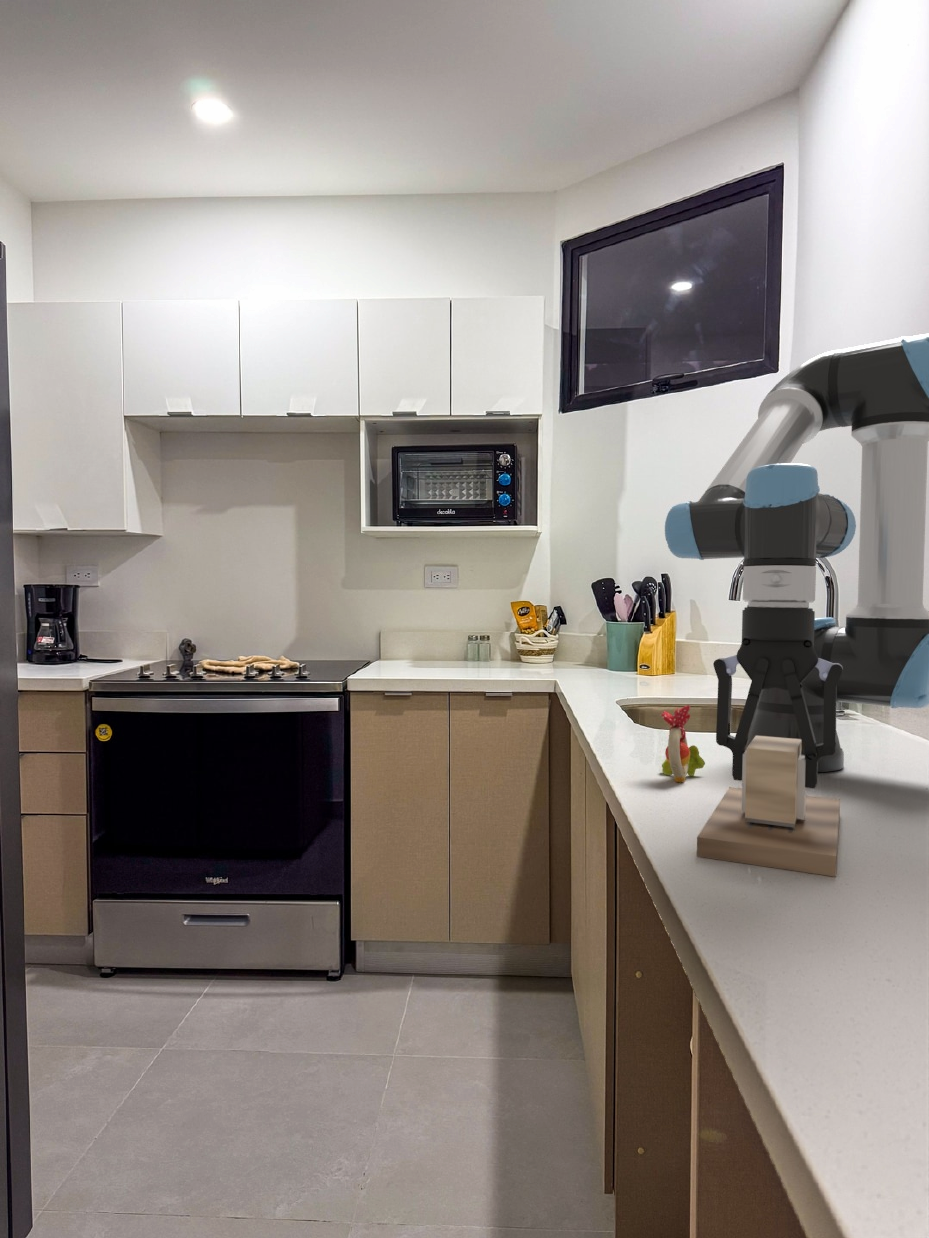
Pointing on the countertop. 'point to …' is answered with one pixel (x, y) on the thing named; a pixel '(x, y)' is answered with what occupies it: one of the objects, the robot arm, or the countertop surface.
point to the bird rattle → (680, 748)
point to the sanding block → (772, 780)
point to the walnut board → (774, 837)
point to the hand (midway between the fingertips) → (773, 812)
